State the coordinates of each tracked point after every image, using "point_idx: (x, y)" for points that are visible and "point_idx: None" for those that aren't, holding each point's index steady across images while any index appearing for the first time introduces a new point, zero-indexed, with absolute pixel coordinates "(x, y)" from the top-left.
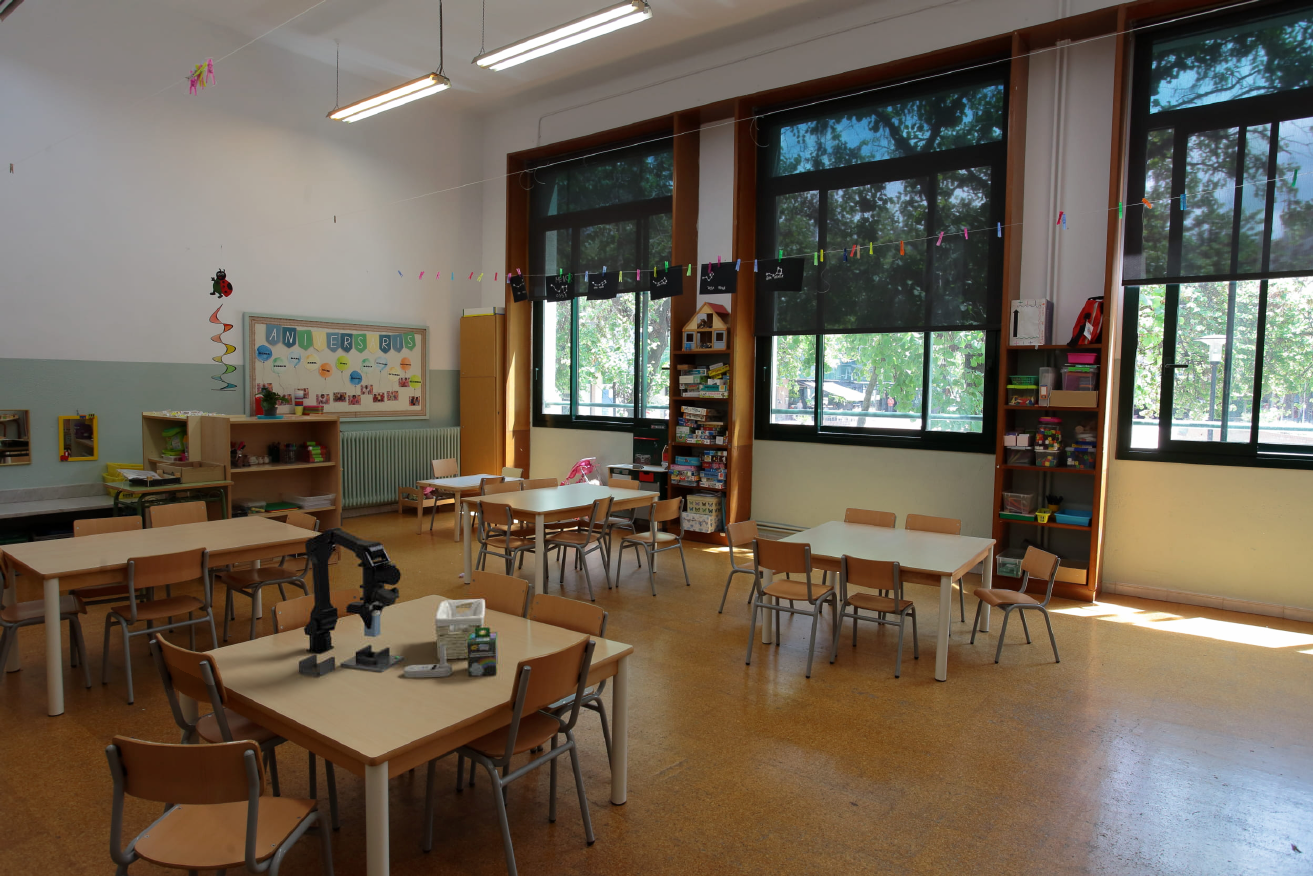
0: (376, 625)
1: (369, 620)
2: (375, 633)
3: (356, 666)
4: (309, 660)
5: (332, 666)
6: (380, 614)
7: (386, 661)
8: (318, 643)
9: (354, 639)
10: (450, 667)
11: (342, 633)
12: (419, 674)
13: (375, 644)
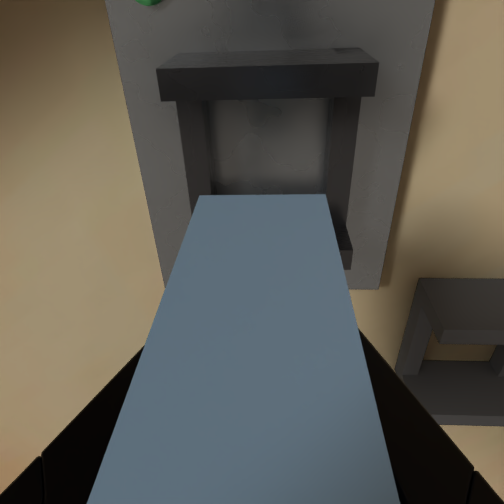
0: (290, 293)
1: (475, 476)
2: (310, 217)
3: (396, 183)
4: (468, 403)
5: (449, 293)
6: (19, 490)
7: (260, 16)
8: None
9: (45, 404)
10: None
11: (32, 457)
12: None
13: (24, 308)
